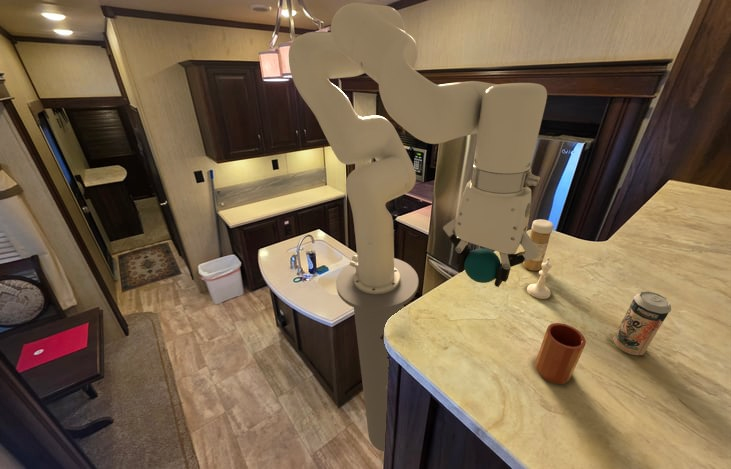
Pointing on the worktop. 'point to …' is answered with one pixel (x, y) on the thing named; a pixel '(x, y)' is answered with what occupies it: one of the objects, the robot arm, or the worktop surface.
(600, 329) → the worktop surface
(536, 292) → the chess piece
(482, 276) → the ball
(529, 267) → the sprinkles bottle
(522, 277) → the worktop surface
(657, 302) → the beer can
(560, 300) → the worktop surface
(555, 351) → the tumbler
